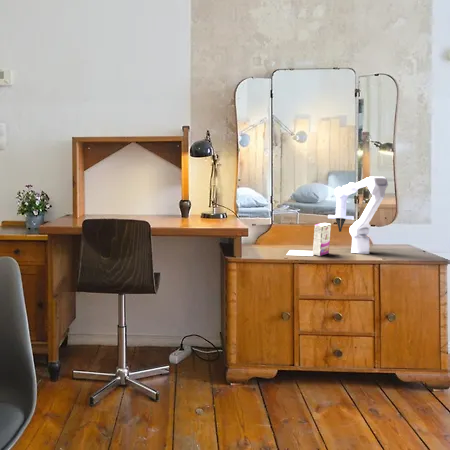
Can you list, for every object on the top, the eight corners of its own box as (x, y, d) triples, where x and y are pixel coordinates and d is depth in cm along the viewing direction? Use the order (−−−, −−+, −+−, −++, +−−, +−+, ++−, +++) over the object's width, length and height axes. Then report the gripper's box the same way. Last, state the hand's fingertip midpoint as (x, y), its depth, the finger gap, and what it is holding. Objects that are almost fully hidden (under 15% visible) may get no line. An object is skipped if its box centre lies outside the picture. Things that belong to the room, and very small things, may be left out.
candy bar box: (320, 251, 247) (323, 222, 245) (329, 253, 244) (331, 223, 242) (311, 254, 239) (314, 224, 236) (320, 256, 236) (323, 225, 233)
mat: (314, 251, 250) (314, 251, 250) (312, 256, 235) (312, 256, 235) (290, 250, 254) (290, 250, 254) (286, 255, 239) (286, 254, 239)
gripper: (354, 208, 259) (353, 231, 261) (328, 207, 263) (327, 229, 264) (354, 209, 252) (353, 232, 254) (328, 208, 256) (327, 231, 258)
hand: (340, 231), depth 259 cm, fingers closed
